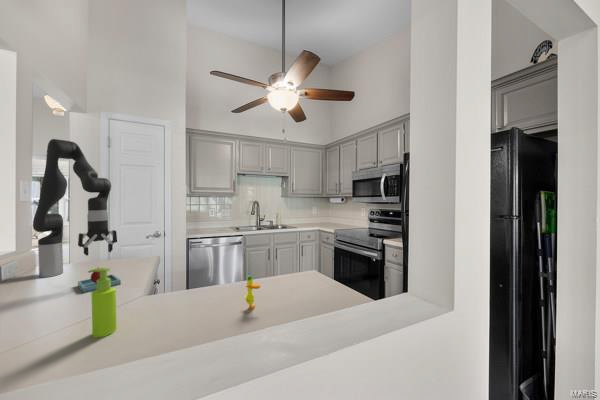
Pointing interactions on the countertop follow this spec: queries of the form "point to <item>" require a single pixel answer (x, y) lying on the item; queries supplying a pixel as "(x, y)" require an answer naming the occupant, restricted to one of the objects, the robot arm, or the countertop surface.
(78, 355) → the countertop surface
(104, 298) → the soap dispenser
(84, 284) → the tray
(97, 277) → the onion
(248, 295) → the toy figure
